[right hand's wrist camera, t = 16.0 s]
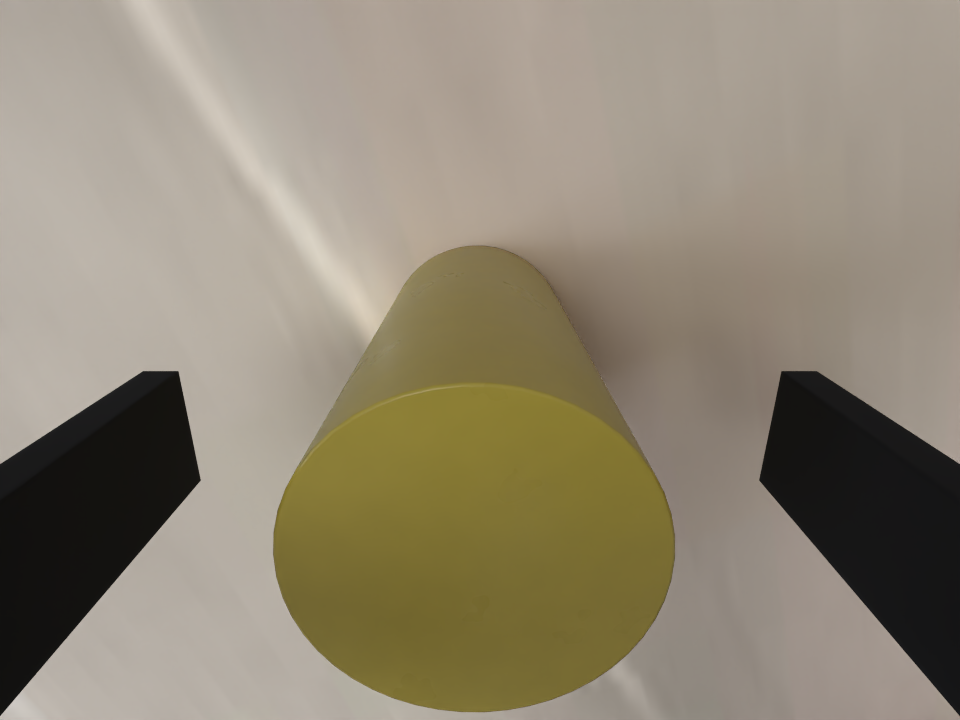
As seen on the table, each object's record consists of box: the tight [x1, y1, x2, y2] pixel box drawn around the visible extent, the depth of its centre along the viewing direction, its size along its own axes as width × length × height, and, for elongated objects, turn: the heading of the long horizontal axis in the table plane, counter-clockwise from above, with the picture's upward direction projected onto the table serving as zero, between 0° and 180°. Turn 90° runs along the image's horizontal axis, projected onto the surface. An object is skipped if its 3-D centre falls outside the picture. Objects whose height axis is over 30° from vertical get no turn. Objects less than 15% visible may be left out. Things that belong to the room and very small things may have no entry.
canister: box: [273, 246, 675, 712], centre depth 14 cm, size 6×6×12 cm
